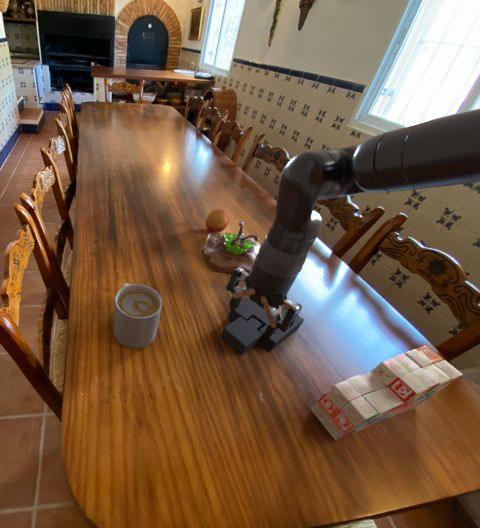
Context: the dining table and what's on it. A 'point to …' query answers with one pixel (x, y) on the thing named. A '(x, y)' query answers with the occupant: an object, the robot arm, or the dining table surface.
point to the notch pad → (264, 322)
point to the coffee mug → (136, 315)
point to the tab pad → (242, 334)
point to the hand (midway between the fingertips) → (249, 321)
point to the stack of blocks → (383, 391)
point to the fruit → (216, 221)
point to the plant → (230, 251)
